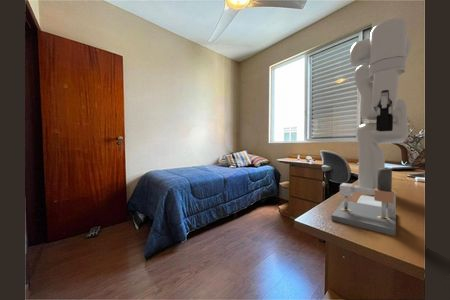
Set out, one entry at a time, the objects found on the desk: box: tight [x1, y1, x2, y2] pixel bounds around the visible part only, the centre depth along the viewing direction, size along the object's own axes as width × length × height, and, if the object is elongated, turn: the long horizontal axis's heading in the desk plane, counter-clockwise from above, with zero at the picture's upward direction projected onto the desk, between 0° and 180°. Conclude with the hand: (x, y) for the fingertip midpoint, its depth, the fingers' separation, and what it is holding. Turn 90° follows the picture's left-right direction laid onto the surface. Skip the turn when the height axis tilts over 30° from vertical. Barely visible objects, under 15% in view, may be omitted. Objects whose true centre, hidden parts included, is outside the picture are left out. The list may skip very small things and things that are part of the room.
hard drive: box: [356, 194, 388, 207], centre depth 68 cm, size 2×8×12 cm
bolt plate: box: [330, 200, 397, 237], centre depth 56 cm, size 18×14×2 cm
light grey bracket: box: [339, 182, 397, 219], centre depth 55 cm, size 5×13×8 cm, turn 47°
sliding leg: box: [373, 167, 395, 217], centre depth 51 cm, size 3×4×14 cm
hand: (384, 130), depth 52 cm, fingers open, 9 cm apart
